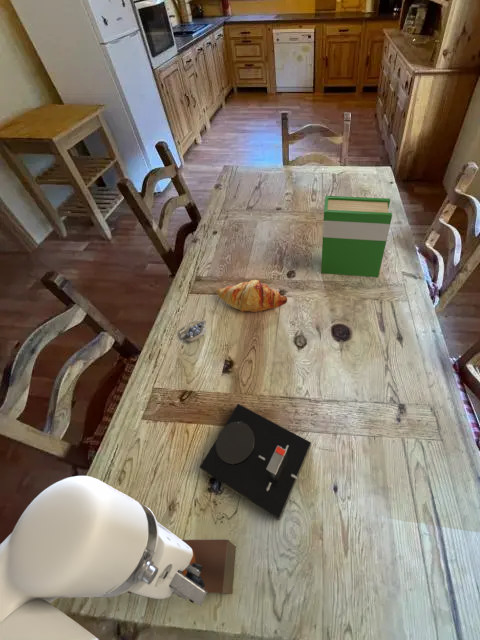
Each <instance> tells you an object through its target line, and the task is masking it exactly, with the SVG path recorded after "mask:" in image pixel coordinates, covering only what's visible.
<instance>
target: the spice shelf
mask: <svg viewBox="0 0 480 640" xmlns="http://www.w3.org/2000/svg"><path fill="white" fill-rule="evenodd" d="M181 540H182V541H183V542H185V543H186V544H187V545H188V546H189V547H190V548H191V549H192V550H193V552H194V555H195V563H196V564H199V565H201V566H202V567H203V568H202V570H201V572H200V574H199V576H201V577H202V578H201V580H203V581H204V584H205V586H204V588H205V589H206V591H207V594H224V595H232V594H233V593H234V591H233V590H234V580H235V579H234V578H235V567H236V566H235V565H236V551H237V546H236V545H235V544H234V543H233V542H231V541H230V540H229V539H228V538H227V539H226V538H225V539H224V538H221V539H219V538H218V539H217V538H213V539H211V538H210V539H181ZM127 594H135V593H132V592H130V591H127ZM135 595H136V594H135Z"/></svg>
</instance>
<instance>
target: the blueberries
mask: <svg viewBox="0 0 480 640" xmlns="http://www.w3.org/2000/svg"><path fill="white" fill-rule="evenodd" d="M206 333H207V327H206V321H205V320H204V319H196V320H195V321H193V322H192V324H191V323H189V325H185V326H184V327H183V328H180V330H179V334H178V335H179V337H180V340H183V341H187V343H189V344H190V343H191V344H192V343H193V342H194V341H197V340H198V339H199V338H201V337H203V336H204V335H205V334H206Z"/></svg>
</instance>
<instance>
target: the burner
mask: <svg viewBox="0 0 480 640" xmlns="http://www.w3.org/2000/svg"><path fill="white" fill-rule="evenodd" d="M224 426H225V425H224ZM224 426H223V427H224ZM223 427H222V429H221V430H220V431H219V433H218V434H217V437H216V439H217V440H216V439H215V441H216V451H217V454H218V456H219V457H220V459H221V460H222V461H224V462H225V463H227V464H239V463H241V462H243V461H245V460H246V459H247V458H248V457H249V456H250V455H251V453H252V451H253V448H254V444H255V438H254V434H253V431H252V429H251V428H250V427H249V426H248V425H247V424H245V423H242V422H232V423H230V424H228V425H226V426H225V427H224V428H223Z"/></svg>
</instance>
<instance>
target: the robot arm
mask: <svg viewBox="0 0 480 640" xmlns="http://www.w3.org/2000/svg"><path fill="white" fill-rule="evenodd" d="M182 540H183V539H181V538H180V537H178V536H177V535H176V534H175V533H173V532H172V531H170V530H169V529H168V528H166V527H165V526H164V525H162V524H161V523H160V522H158V521H157V517H156V516H155V514H154V513H153V511H152V510H151V509H150V508H149V507H148V506H147V505H145V504H143V503H142V502H140V501H138V500H136V499H134V498H132V497H131V496H129V495H128V494H125V493H123V492H121V491H120V490H118V489H116V488H114V487H113V486H111V485H109V484H107V483H106V482H105V481H102V480H100V479H98V478H95V477H94V476H89V475H75V476H70V477H65V478H63V479H60V480H59V481H56V482H54V483H52V484H51V485H49V486H48V487H47V488H45V489H43V490H42V491H41V492H40V493H39V494H38V495H37V496H36V497H35V498H34V499H32V501H31V502H30V504H28V505H27V507H26V508H25V509H24V511H23V512H22V514H21V515H20V517H19V519H18V520H17V522H16V524H15V526H14V527H13V530H12V532H11V533H10V534H9V535H8V536H7V537H6V538H5V539H4V540H2V542H1V543H0V640H100V639H99V637H96V636H95V635H94V634H92V632H90V631H89V630H87V628H85V627H83V626H82V625H81V624H80V623H78V622H77V621H75V620H74V619H73V618H71V617H69V616H68V615H66V613H64V612H63V611H61V610H60V609H58V608H57V607H56V606H54V605H53V604H52V603H53V602H54V601H55V600H57V599H60V598H61V599H63V598H64V599H66V598H67V599H68V598H69V599H70V598H72V599H76V598H77V599H79V598H114V597H117V596H118V597H119V596H121V595H123V594H125V593H128V591H130V592H132V593H131V594H133V593H135V595H136V596H143V597H146V598H150V599H155V600H165V599H168V598H171V596H173V594H175V595H176V596H178V597H179V598H182V599H183V600H186V601H187V600H188V599H189V602H191V603H192V604H194V603H195V604H197V605H198V606H200V607H202V606H203V603H204V601H205V599H206V597H207V595H208V593H207V591H206V589H205V588H204V586H205V584H204V581H203V580H201V578H202V577H201V576H199V574H200V572H201V570H202V568H203V567H202V566H201V565H199V564H196V563H192V564H191V565H190V564H189V563H190V561H191V559H192V557H193V551H192V549H191V548H190V547H189V546H188V545H187V544H186V543H185V542H183V541H182ZM184 569H185V570H187V573H186V575H183V574H182V573H183V571H184Z"/></svg>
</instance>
